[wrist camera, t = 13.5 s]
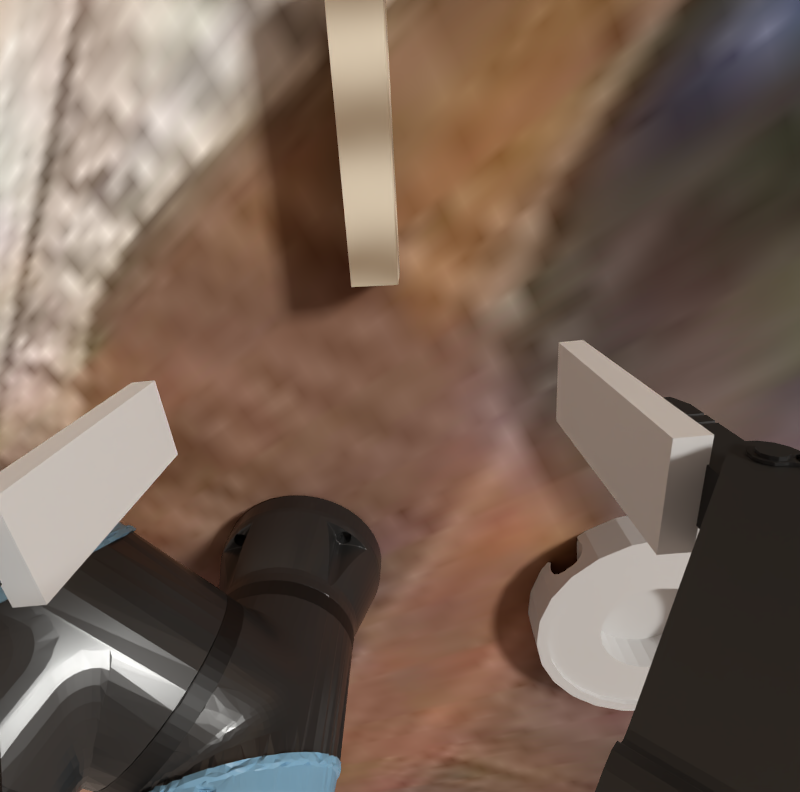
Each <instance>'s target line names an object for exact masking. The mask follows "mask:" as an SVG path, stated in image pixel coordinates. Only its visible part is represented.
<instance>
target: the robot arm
mask: <svg viewBox="0 0 800 792" xmlns="http://www.w3.org/2000/svg"><path fill="white" fill-rule="evenodd" d="M556 421H557V422H558V424H559V425H560V426H561V428H562V429H563V430H564V432H565V433H566V434H567V436H568V437H569V438H570V440H571V441H572V442H573V444H574V445H575V446H576V448H577V449H578V450H579V452H580V453H581V454H582V456H583V457H584V458H585V460H586V461H587V462H588V464H589V465H590V466H591V468H592V469H593V470H594V472H595V473H596V474H597V476H598V477H599V478H600V480H601V481H602V482H603V484H604V485H605V487H606V488H607V489H608V491H609V492H610V493H611V495H612V496H613V497H614V499H615V500H616V501H617V503H618V504H619V505H620V507H621V508H622V509H623V511H624V512H625V513H626V515H627V516H628V517H629V519H630V520H631V521H632V523H633V524H634V525H635V527H636V528H637V529H638V531H639V532H640V533H641V535H642V536H643V537H644V539H645V540H646V541H647V543H648V544H649V545H650V547H651V548H652V549H653V551H654V552H655V553H656V555H664V554H676V553H688V552H691V555H690V558H689V561H688V563H687V566H686V569H685V572H684V574H683V577H682V580H681V583H680V586H679V588H678V591H677V594H676V597H675V599H674V602H673V605H672V608H671V611H670V613H669V616H668V619H667V622H666V624H665V627H664V630H663V633H662V636H661V638H660V641H659V644H658V647H657V649H656V652H655V655H654V658H653V661H652V663H651V666H650V669H649V672H648V674H647V677H646V680H645V683H644V685H643V688H642V691H641V694H640V697H639V699H638V702H637V705H636V708H635V710H634V713H633V716H632V719H631V722H630V724H629V727H628V730H627V732H626V735H625V737H624V739H623V741H622V742H621V743H620V742H618V741H617V742H616V744H615V745H614V747H613V748H612V750H611V753H610V755H609V757H608V760H607V762H606V764H605V767H604V769H603V772H602V775H601V777H600V780H599V783H598V785H597V788H596V791H595V792H800V451H799V450H796V449H794V448H792V447H789V446H785V445H781V444H777V443H772V442H764V441H744V440H742V439H741V438H740V437H738V436H737V435H735V434H734V433H732V432H731V431H729V430H728V429H726V428H725V427H723V426H722V425H720V424H719V423H715V421H714V420H713V419H711V418H710V417H708V416H707V415H704V413H703V412H701V411H700V410H698V409H697V408H695V407H694V406H692V405H691V404H688V403H686V402H683V401H680V400H677V399H675V398H672V397H664V398H663V397H661V396H660V395H658V394H657V393H656V392H654V391H653V390H651V389H650V388H649V387H647V386H646V385H645V384H643V383H642V382H640V381H639V380H638V379H636V378H635V377H633V376H632V375H631V374H629V373H628V372H627V371H625V370H624V369H622V368H621V367H620V366H618V365H617V364H615V363H614V362H613V361H611V360H610V359H608V358H607V357H606V356H604V355H603V354H602V353H600V352H599V351H597V350H596V349H595V348H593V347H592V346H590V345H589V344H588V343H586V342H585V341H583V340H579V341H568V342H559V350H558V380H557V410H556ZM177 455H178V453H177V450H176V447H175V444H174V440H173V437H172V434H171V431H170V428H169V424H168V421H167V418H166V415H165V412H164V408H163V405H162V402H161V399H160V396H159V392H158V389H157V386H156V383H155V381H144V382H134V383H131V384H129V385H128V386H126V387H125V388H123V389H122V390H120V391H119V392H117V393H116V394H114V395H113V396H111V397H110V398H108V399H107V400H105V401H104V402H102V403H101V404H99V405H98V406H96V407H95V408H94V409H92V410H91V411H89V412H88V413H86V414H85V415H83V416H82V417H80V418H79V419H77V420H76V421H74V422H73V423H71V424H70V425H68V426H67V427H65V428H64V429H62V430H61V431H59V432H58V433H56V434H55V435H54V436H52V437H51V438H49V439H48V440H46V441H45V442H43V443H42V444H40V445H39V446H37V447H36V448H34V449H33V450H31V451H30V452H28V453H27V454H25V455H24V456H22V457H21V458H19V459H18V460H16V461H15V462H13V463H12V464H11V465H9V466H8V467H6V468H5V469H3V470H2V471H0V792H79V791H80V790H81V789H82V788H83V789H86V790H90V791H93V792H335V787H336V781H337V779H338V777H339V775H340V771H341V762H340V757H341V748H342V739H343V730H344V721H345V712H346V703H347V694H348V685H349V676H350V667H351V658H352V649H353V641H354V636H355V634H356V632H357V630H358V628H359V626H360V625H361V623H362V621H363V619H364V617H365V615H366V613H367V611H368V609H369V607H370V605H371V603H372V601H373V599H374V597H375V595H376V593H377V589H378V586H379V580H380V569H381V554H380V549H379V546H378V543H377V541H376V539H375V537H374V535H373V533H372V532H371V530H370V529H369V528H368V526H367V525H366V524H365V523H364V522H363V521H362V520H361V519H360V518H359V517H357V516H356V515H355V514H353V513H352V512H351V511H349V510H347V509H346V508H344V507H342V506H340V505H338V504H336V503H333V502H330V501H327V500H324V499H320V498H315V497H309V496H286V497H279V498H275V499H271V500H268V501H265V502H263V503H261V504H259V505H257V506H255V507H253V508H252V509H250V510H249V511H248V512H246V513H245V514H244V515H243V516H242V517H241V518H240V519H239V521H238V522H237V523H236V525H235V526H234V528H233V530H232V532H231V534H230V536H229V538H228V540H227V542H226V544H225V547H224V550H223V553H222V558H221V569H220V584H219V589H218V588H217V587H215V586H214V585H212V584H211V583H209V582H208V581H206V580H205V579H203V578H202V577H200V576H199V575H197V574H196V573H194V572H193V571H191V570H190V569H188V568H187V567H185V566H184V565H182V564H181V563H179V562H178V561H176V560H174V559H173V558H171V557H170V556H168V555H167V554H165V553H164V552H162V551H161V550H159V549H158V548H156V547H155V546H153V545H152V544H150V543H149V542H147V541H146V540H144V539H143V538H141V537H140V536H139V535H137V534H136V533H134V532H133V531H135V530H136V528H134V527H133V526H131V525H127V526H125V525H123V524H122V523H120V522H119V521H120V520H121V519H122V518H123V517H124V516H125V515H126V513H127V512H128V511H129V510H130V509H131V508H132V506H133V505H134V504H135V503H136V502H137V501H138V500H139V498H140V497H141V496H142V495H143V494H144V493H145V492H146V490H147V489H148V488H149V487H150V486H151V485H152V484H153V482H154V481H155V480H156V479H157V478H158V477H159V475H160V474H161V473H162V472H163V471H164V470H165V469H166V467H167V466H168V465H169V464H170V463H171V462H172V461H173V459H174V458H175V457H176V456H177ZM698 528H699V529H700V530H699V533H698V536H697V530H698ZM696 536H697V538H696Z"/></svg>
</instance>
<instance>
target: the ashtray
mask: <svg viewBox="0 0 800 792" xmlns="http://www.w3.org/2000/svg"><path fill="white" fill-rule="evenodd" d="M699 530H700V529H699V528H698V530H697V536H698V533H699ZM697 536H696V538H697ZM578 540H579V541H578ZM690 555H691V552H688V553H676V554H664V555H656V553H655V552H654V551H653V549H652V548H651V547H650V545H649V544H648V543H647V541H646V540H645V539H644V537H643V536H642V535H641V533H640V532H639V531H638V529H637V528H636V527H635V525H634V524H633V523H632V521H631V520H630V519H629V517H628V516H624V517H619V518H615V519H612V520H610V521H608V522H605V523H603V524H601V525H598V526H596V527H594V528H591V529H589V530H587V531H584V532H583V533H582V534H580V535H579V536H577V562H576V563H575V564H573V565H572V566H571V567H569V568H567V569H566V570H565V571H564V572H562V573H560V574H553V573H552V572H551V567H550V565H551V563H549V562H548V563H547V564H546V565H545V566H544V567H543V568H542V569H541V571H540V573H539V575H538V577H537V579H536V581H535V584H534V586H533V588H532V590H531V593H530V601H529V609H528V615H529V619H530V623H531V627H532V631H533V635H534V638H535V642H536V645H537V649H538V653H539V656H540V660H541V664H542V666H543V667H544V668H545V670H546V671H547V673H548V674H549V676H550V677H551V678H552V680H553V681H554V682H555V683H556V684H557V685H559V686H560V687H561V688H563V689H564V690H565V691H567V692H568V693H569V694H571V695H572V696H574V697H576V698H579V699H581V700H583V701H586V702H588V703H591V704H593V705H596V706H601V707H606V708H611V709H617V710H622V711H634V710H635V708H636V705H637V702H638V699H639V697H640V694H641V691H642V688H643V685H644V683H645V680H646V677H647V674H648V672H649V669H650V666H651V663H652V661H653V658H654V655H655V652H656V649H657V647H658V644H659V641H660V638H661V636H662V633H663V630H664V627H665V624H666V622H667V619H668V616H669V613H670V611H671V608H672V605H673V602H674V599H675V597H676V594H677V591H678V588H679V586H680V583H681V580H682V577H683V574H684V572H685V569H686V566H687V563H688V561H689V558H690Z"/></svg>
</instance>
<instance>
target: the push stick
mask: <svg viewBox="0 0 800 792" xmlns="http://www.w3.org/2000/svg"><path fill="white" fill-rule="evenodd" d="M324 2H325V13H326V23H327V34H328V44H329V55H330V66H331V76H332V87H333V97H334V108H335V119H336V129H337V140H338V151H339V161H340V172H341V182H342V193H343V204H344V214H345V225H346V235H347V246H348V257H349V267H350V278H351V287H363V286H383V285H398V281H399V273H400V265H399V246H398V226H397V207H396V188H395V169H394V150H393V130H392V111H391V92H390V73H389V54H388V35H387V15H386V0H324Z"/></svg>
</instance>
